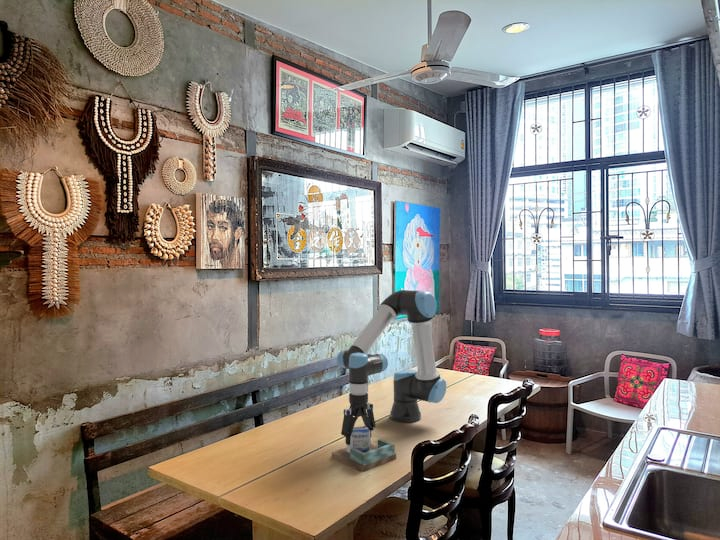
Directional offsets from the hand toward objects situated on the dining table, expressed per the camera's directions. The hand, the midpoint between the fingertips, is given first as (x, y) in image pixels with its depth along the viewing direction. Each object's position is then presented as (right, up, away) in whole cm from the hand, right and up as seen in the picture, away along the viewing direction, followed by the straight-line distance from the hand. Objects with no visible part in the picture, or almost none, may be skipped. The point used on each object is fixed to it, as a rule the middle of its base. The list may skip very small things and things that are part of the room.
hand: (358, 449), depth 200 cm
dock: (+2, -3, -2) cm, 4 cm away
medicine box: (0, -1, 0) cm, 1 cm away
